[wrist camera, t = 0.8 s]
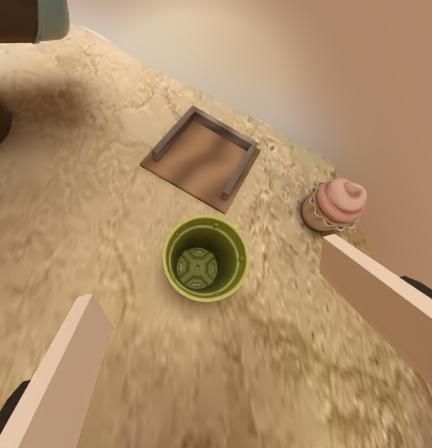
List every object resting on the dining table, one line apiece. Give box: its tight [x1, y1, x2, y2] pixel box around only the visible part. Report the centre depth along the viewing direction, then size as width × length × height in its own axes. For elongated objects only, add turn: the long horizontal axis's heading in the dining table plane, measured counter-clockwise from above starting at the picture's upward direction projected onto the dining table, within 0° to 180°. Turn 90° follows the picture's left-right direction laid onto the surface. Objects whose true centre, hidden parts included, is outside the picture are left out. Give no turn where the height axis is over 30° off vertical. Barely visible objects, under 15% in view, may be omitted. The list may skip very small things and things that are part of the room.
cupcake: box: [302, 178, 367, 231], centre depth 34 cm, size 9×9×10 cm
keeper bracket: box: [140, 105, 261, 214], centre depth 36 cm, size 16×16×2 cm
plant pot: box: [162, 215, 249, 302], centre depth 26 cm, size 9×9×9 cm
